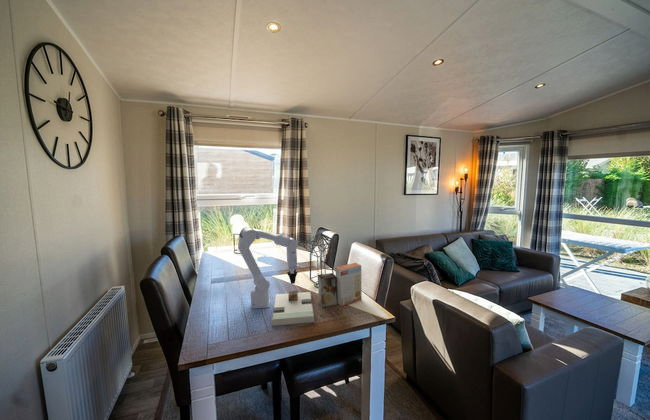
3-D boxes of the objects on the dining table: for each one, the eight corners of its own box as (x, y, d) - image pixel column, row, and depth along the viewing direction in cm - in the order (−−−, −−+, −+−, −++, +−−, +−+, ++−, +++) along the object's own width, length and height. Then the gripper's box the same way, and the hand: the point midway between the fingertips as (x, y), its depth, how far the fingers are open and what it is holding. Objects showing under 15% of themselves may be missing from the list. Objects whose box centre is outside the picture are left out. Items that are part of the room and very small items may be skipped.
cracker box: (355, 296, 144) (355, 262, 141) (361, 300, 138) (362, 265, 136) (335, 302, 137) (335, 266, 134) (341, 307, 132) (341, 270, 129)
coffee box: (333, 299, 140) (333, 272, 138) (337, 304, 134) (337, 276, 132) (318, 301, 138) (317, 274, 136) (321, 307, 132) (320, 278, 130)
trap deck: (272, 325, 116) (271, 319, 115) (276, 297, 143) (275, 292, 143) (314, 322, 118) (314, 315, 118) (310, 295, 146) (310, 290, 145)
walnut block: (288, 301, 135) (288, 295, 134) (288, 297, 140) (288, 291, 139) (297, 300, 135) (297, 294, 135) (297, 296, 140) (297, 290, 140)
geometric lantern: (320, 293, 147) (317, 237, 143) (305, 285, 159) (302, 233, 155) (339, 286, 157) (337, 232, 153) (324, 279, 169) (322, 229, 165)
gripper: (299, 262, 135) (300, 285, 137) (298, 254, 150) (299, 275, 151) (286, 263, 134) (287, 286, 136) (286, 254, 149) (288, 276, 151)
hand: (293, 280), depth 144 cm, fingers open, 7 cm apart
